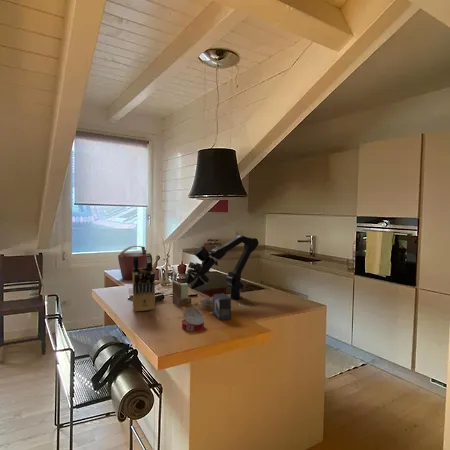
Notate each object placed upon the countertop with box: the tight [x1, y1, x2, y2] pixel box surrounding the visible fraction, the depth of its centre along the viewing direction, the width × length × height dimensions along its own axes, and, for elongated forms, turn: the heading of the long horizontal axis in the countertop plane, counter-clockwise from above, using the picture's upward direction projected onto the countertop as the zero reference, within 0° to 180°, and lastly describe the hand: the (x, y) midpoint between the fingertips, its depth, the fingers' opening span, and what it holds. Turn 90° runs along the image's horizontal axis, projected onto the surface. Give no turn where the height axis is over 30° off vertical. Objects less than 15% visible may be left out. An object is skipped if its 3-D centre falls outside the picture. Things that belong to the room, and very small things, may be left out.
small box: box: [212, 292, 232, 321], centre depth 165 cm, size 11×6×10 cm, turn 21°
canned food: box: [181, 306, 205, 333], centre depth 150 cm, size 11×10×10 cm
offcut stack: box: [196, 298, 213, 311], centre depth 178 cm, size 8×7×5 cm
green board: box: [180, 282, 189, 299], centre depth 184 cm, size 4×2×11 cm, turn 120°
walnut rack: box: [172, 280, 196, 308], centre depth 184 cm, size 10×9×13 cm
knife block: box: [132, 252, 156, 312], centre depth 180 cm, size 11×35×31 cm, turn 16°
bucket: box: [117, 245, 148, 281], centre depth 257 cm, size 24×22×25 cm
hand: (188, 287), depth 185 cm, fingers open, 9 cm apart
